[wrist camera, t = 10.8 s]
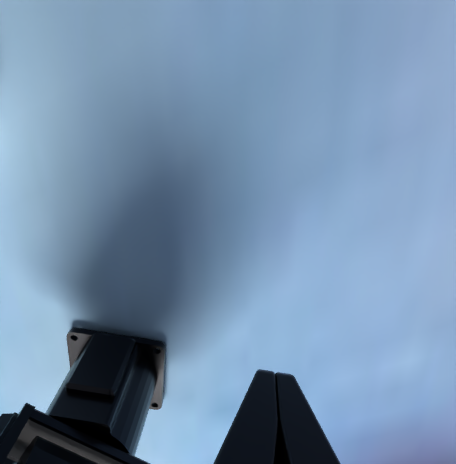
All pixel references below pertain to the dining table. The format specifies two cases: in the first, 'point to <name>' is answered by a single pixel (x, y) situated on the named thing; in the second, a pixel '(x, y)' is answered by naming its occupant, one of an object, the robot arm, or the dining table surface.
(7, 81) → the dining table surface
